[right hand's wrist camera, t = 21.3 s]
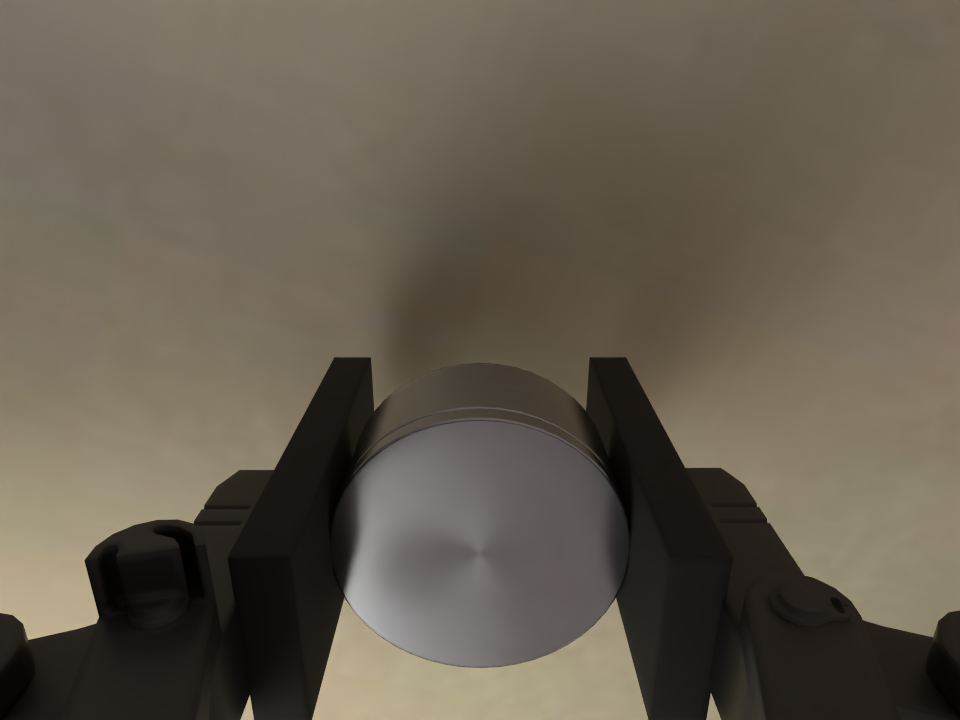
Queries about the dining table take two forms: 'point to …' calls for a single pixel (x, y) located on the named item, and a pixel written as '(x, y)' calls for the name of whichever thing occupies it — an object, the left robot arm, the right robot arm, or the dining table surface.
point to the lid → (480, 519)
